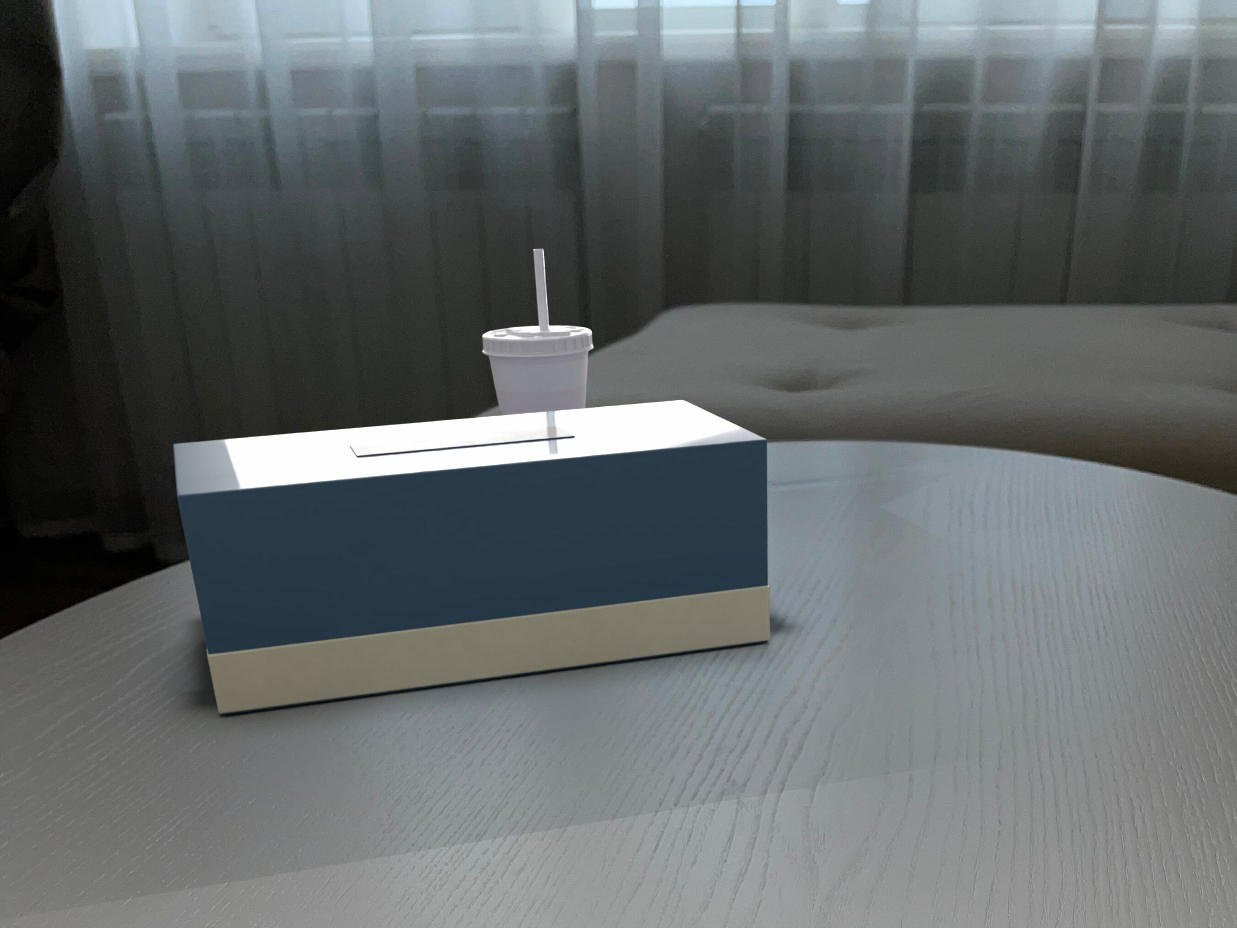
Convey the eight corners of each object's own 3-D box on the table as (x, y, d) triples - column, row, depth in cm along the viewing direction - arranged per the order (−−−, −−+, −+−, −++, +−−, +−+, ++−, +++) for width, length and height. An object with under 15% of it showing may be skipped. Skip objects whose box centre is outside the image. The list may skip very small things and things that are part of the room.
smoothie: (559, 520, 84) (539, 254, 77) (474, 508, 87) (448, 252, 80) (623, 497, 88) (610, 245, 81) (541, 487, 91) (521, 243, 85)
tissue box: (219, 717, 57) (175, 494, 52) (209, 636, 66) (171, 442, 62) (770, 642, 63) (769, 437, 58) (690, 578, 72) (684, 398, 68)
